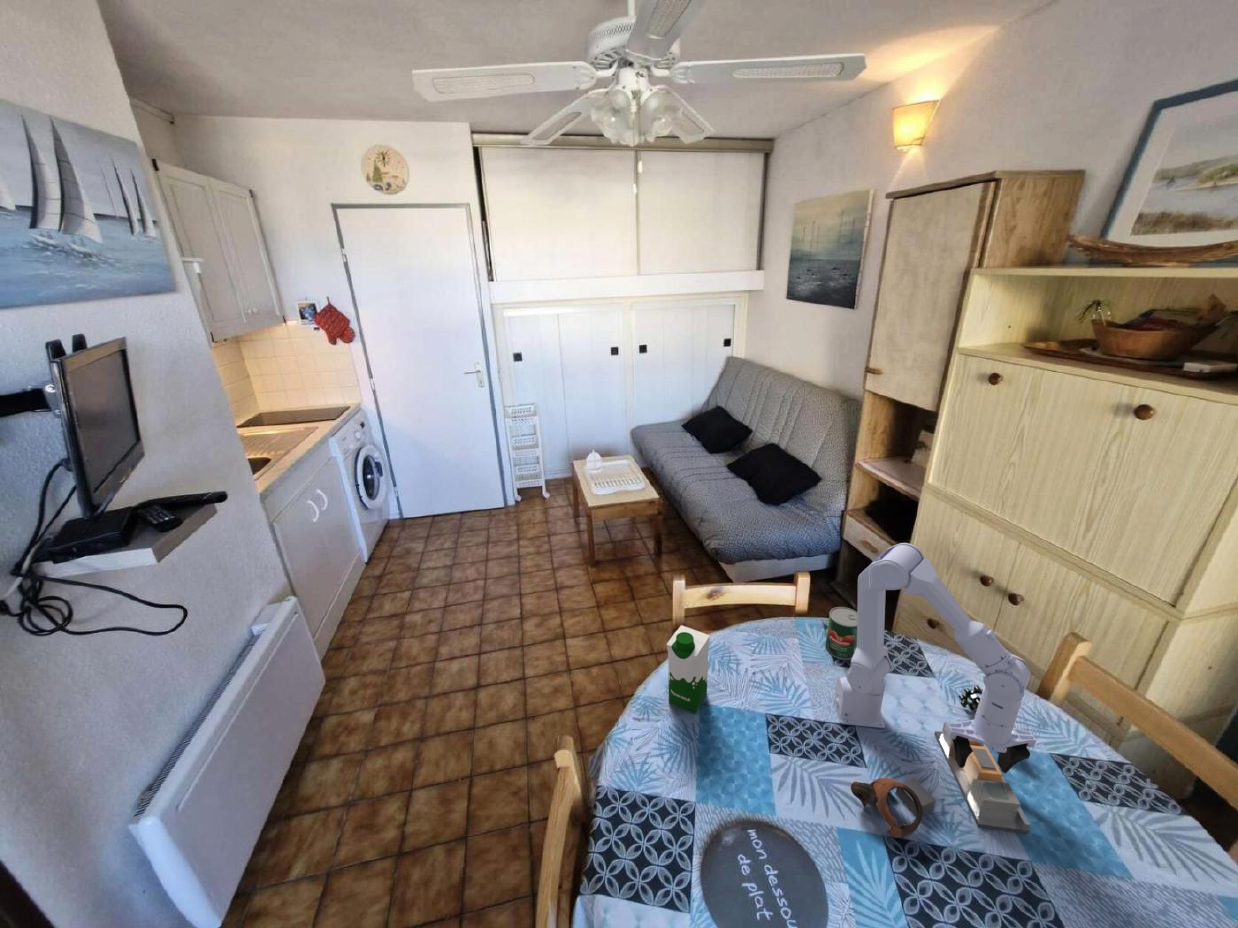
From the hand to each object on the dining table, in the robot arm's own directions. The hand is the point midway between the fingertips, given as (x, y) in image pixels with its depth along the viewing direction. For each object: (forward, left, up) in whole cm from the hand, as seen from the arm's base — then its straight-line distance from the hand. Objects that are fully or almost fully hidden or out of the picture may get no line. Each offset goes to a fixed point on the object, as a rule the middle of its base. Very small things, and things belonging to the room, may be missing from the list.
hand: (980, 765), depth 100 cm
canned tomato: (-18, +35, -4) cm, 40 cm away
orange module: (0, 0, -3) cm, 3 cm away
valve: (+8, +13, -4) cm, 16 cm away
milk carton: (-58, +13, -4) cm, 60 cm away
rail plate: (0, 0, -4) cm, 4 cm away
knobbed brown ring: (-20, -9, -4) cm, 23 cm away
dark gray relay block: (-14, -6, -4) cm, 16 cm away
